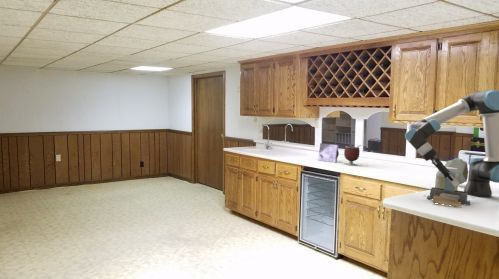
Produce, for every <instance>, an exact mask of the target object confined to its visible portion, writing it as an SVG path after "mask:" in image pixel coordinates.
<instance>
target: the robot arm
mask: <svg viewBox="0 0 499 279" xmlns="http://www.w3.org/2000/svg"><path fill="white" fill-rule="evenodd" d="M475 111H478V115H480V117H482V127H483V128H482V129H483V138H484V139H483V140H484V152H485V157H471V158H470V159H469V163H468V164H469V168H468V178H467V181H466V185H465V186H464V189H463V191H465V192H468V194H467V196H468V195H469V196H473V197H475V196H476V197H481V198H483V197H484V198H492V197H493V191H492V188H491V185H490V184H491V183H490V182H493V183H498V184H499V90H498V89H485V90H477V91H475V92H471V93H470V94H468V95H466V96H464V97H462V98H460V99H458V101H457V102H455V103H453V104H452V105H451V104H450V106H447V107H445V108H443V109H441V110H438V111H436V112H434V113H433V114H431V115H430V114H429V115H428V116H427V117H424V118H422V119H420V120H418V121H412V122H411V123H410V124H409V125H408V131H407V132H405V134H404V138H405V140H406V141H407V143H409V144H410V145H411V146H412V147H413V148H414V150H416V151H417V152H416V153H417V154H419V155H420V156H422V158H423V159H424V160H425V162H428V161H429V160H430V161H431V163H432V165H434V167H435V168H437V170H438V169H439V170H438V171H440V172H441V173H442V174H443V175H444V176H445V177H444V178H447V179H448V180H449V181H450V182H451V183H452V184H453V185H454V186H457V185H458V184H459V183H460V182H459V181H458V180H457V179H456V178H455V179H454V178H453V176H452V175H451V174H450V173H448V172H450V171H449V170H448V169H447V168H446V167H445V165H444V164H443V162H442V161H441V160H440V158H439V157H436V155H437V154H438V152H437V150H436V149H434V148H433V146H432V145H431V144H430V143H429V142H428V141H427V139H429V138H430V137H432V136H433V135H434V134H436V133H437V132H439V130H441V127H442V124H444V123H446V122H449V121H450V120H453V119H455V118H457V117H459V116H461V115H462V114H469V113H471V112H475ZM459 185H460V184H459ZM459 185H458V186H459Z"/></svg>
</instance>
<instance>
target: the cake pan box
mask: <svg viewBox="0 0 499 279" xmlns="http://www.w3.org/2000/svg"><path fill="white" fill-rule="evenodd" d="M318 151H319V152H318V161H319V162H326V163H334V164H337V162H338V157H339V154H340V153H339V152H340V151H339V144H332V143H331V144H330V143H319V149H318Z"/></svg>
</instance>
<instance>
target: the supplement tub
mask: <svg viewBox="0 0 499 279" xmlns="http://www.w3.org/2000/svg"><path fill="white" fill-rule="evenodd" d="M446 168H447V169H448V170H449V171H450V172H452V173H456V177H455V178H456V179H457V180H458V178H459V175H458V173H457V172H458V169H457V168H452V167H446ZM437 170H438V171H436V174H435V185H434V187H435V188H442V189H444V183H445V178H444V177H445V176H444V175H443V174H442V173H441V172H440V171H439V169H438V168H437ZM458 188H459V185H457V186H455V188H454V190H457V191H458Z"/></svg>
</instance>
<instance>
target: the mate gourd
mask: <svg viewBox="0 0 499 279" xmlns="http://www.w3.org/2000/svg"><path fill="white" fill-rule="evenodd" d="M360 147H362V144H360V145H357V146H345V147H344V153H343V154H344V158H345V160H347V161H349V162H348V163H344V164H343V165H345V166H348V167H358V164H355V163H354V162H355V161H357V160H358V159H359V157H360Z"/></svg>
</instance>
